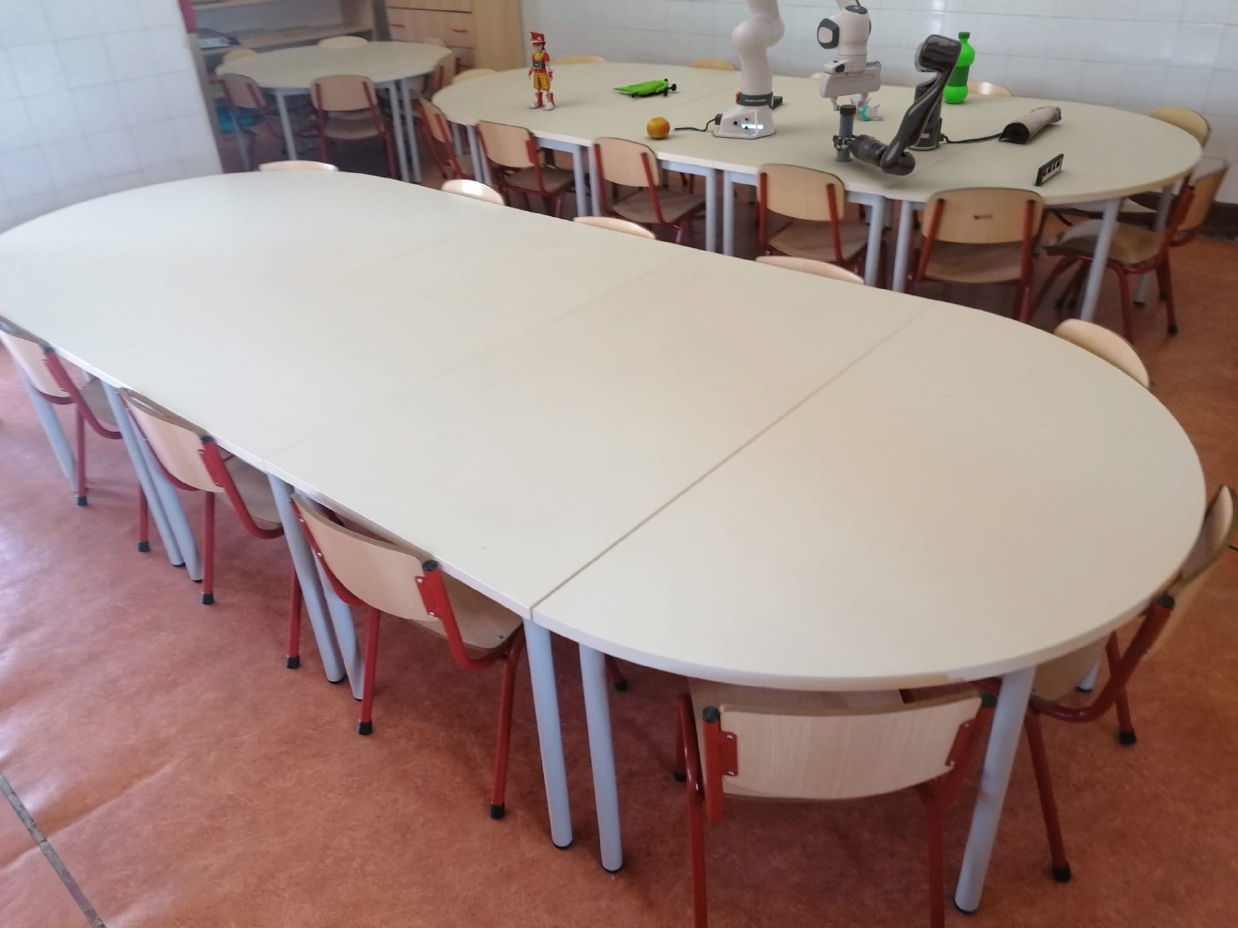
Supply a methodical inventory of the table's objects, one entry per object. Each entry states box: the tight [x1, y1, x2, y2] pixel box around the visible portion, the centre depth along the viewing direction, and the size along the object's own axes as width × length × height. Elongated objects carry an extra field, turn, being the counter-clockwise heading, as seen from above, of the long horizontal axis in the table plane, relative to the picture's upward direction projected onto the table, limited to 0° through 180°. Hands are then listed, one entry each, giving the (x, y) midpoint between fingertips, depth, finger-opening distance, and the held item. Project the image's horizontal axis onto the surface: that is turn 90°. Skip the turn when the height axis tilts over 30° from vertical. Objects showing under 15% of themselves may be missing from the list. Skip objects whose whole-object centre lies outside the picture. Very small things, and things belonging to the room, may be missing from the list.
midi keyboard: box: [1035, 153, 1065, 186], centre depth 273 cm, size 18×1×5 cm, turn 138°
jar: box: [836, 113, 855, 163], centre depth 296 cm, size 4×4×17 cm
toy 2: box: [612, 78, 677, 99], centre depth 396 cm, size 28×5×30 cm
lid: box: [838, 104, 857, 116], centre depth 292 cm, size 5×5×2 cm
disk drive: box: [772, 95, 784, 109], centre depth 364 cm, size 10×3×15 cm
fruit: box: [646, 116, 671, 139], centre depth 333 cm, size 8×8×8 cm
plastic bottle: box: [943, 31, 976, 104], centre depth 348 cm, size 10×10×25 cm
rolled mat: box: [998, 105, 1063, 144], centre depth 313 cm, size 30×9×10 cm
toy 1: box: [527, 31, 556, 111], centre depth 374 cm, size 12×9×30 cm
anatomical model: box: [849, 94, 885, 121], centre depth 342 cm, size 15×10×10 cm
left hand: (848, 109), depth 291 cm, fingers open, 7 cm apart
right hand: (840, 137), depth 299 cm, fingers closed on jar, 4 cm apart
